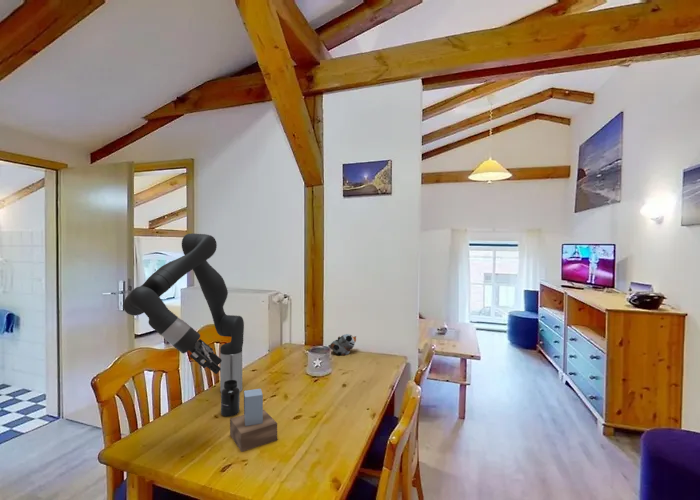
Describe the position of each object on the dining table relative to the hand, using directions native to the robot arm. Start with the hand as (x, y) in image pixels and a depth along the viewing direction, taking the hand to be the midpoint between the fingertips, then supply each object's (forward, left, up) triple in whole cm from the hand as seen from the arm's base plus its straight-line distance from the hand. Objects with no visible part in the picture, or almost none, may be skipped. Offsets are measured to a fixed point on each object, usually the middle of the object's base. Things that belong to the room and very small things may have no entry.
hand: (219, 367), depth 120 cm
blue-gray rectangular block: (+2, +11, -19) cm, 22 cm away
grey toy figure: (-81, +65, -25) cm, 107 cm away
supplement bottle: (-19, +3, -25) cm, 31 cm away
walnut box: (+1, +11, -25) cm, 27 cm away
